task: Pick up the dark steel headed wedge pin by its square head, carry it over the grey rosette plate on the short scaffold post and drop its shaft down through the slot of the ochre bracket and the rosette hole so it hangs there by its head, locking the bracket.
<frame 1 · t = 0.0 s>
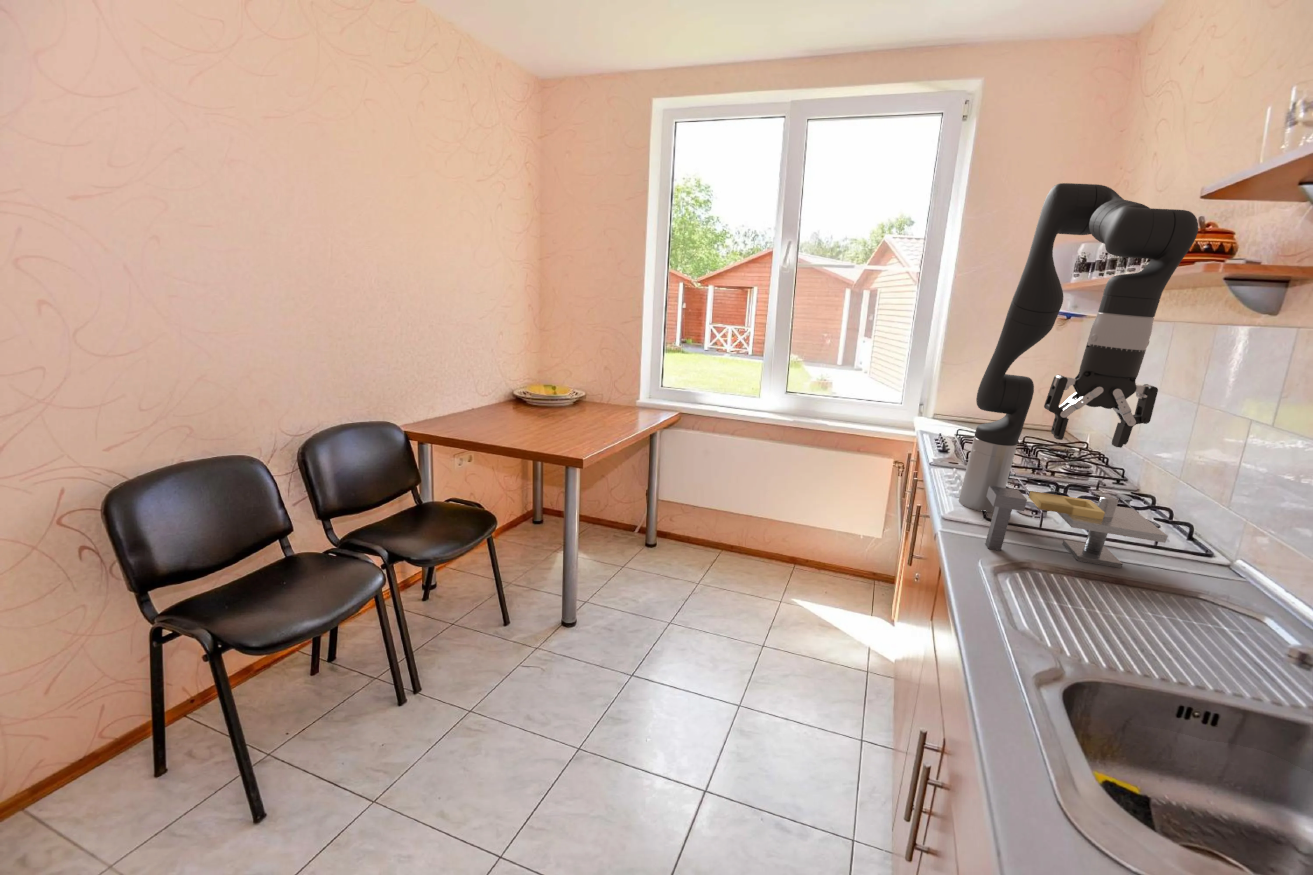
hand: (1086, 442, 96), 29 cm above the worktop, tool pointing down, fingers open, 8 cm apart
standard: (1090, 555, 123), on the worktop
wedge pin: (992, 547, 123), on the worktop
bracket: (1065, 504, 122), point 10 cm above the worktop
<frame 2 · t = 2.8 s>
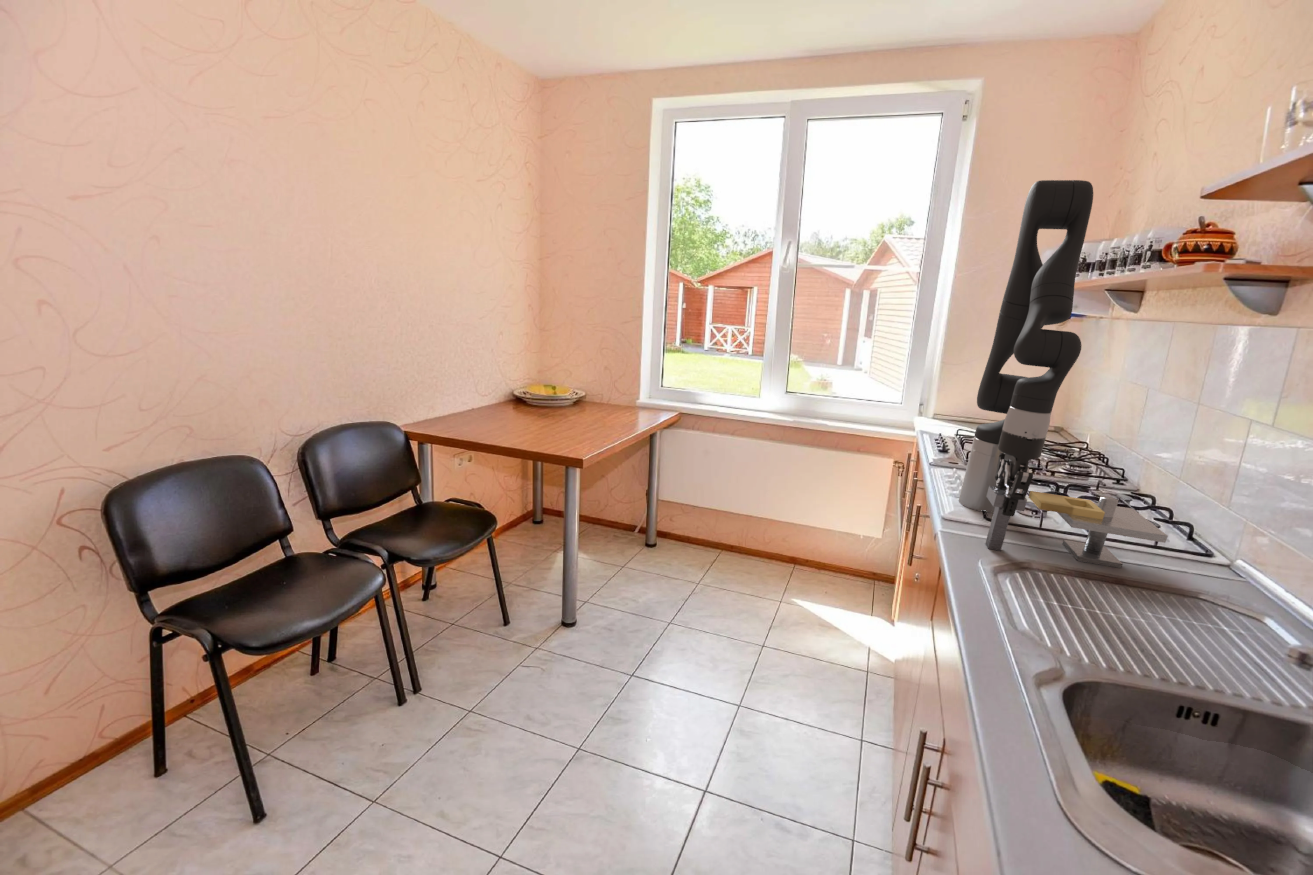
hand: (1003, 509, 121), 9 cm above the worktop, tool pointing down, fingers closed on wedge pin, 5 cm apart
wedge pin: (992, 547, 123), on the worktop, touching gripper
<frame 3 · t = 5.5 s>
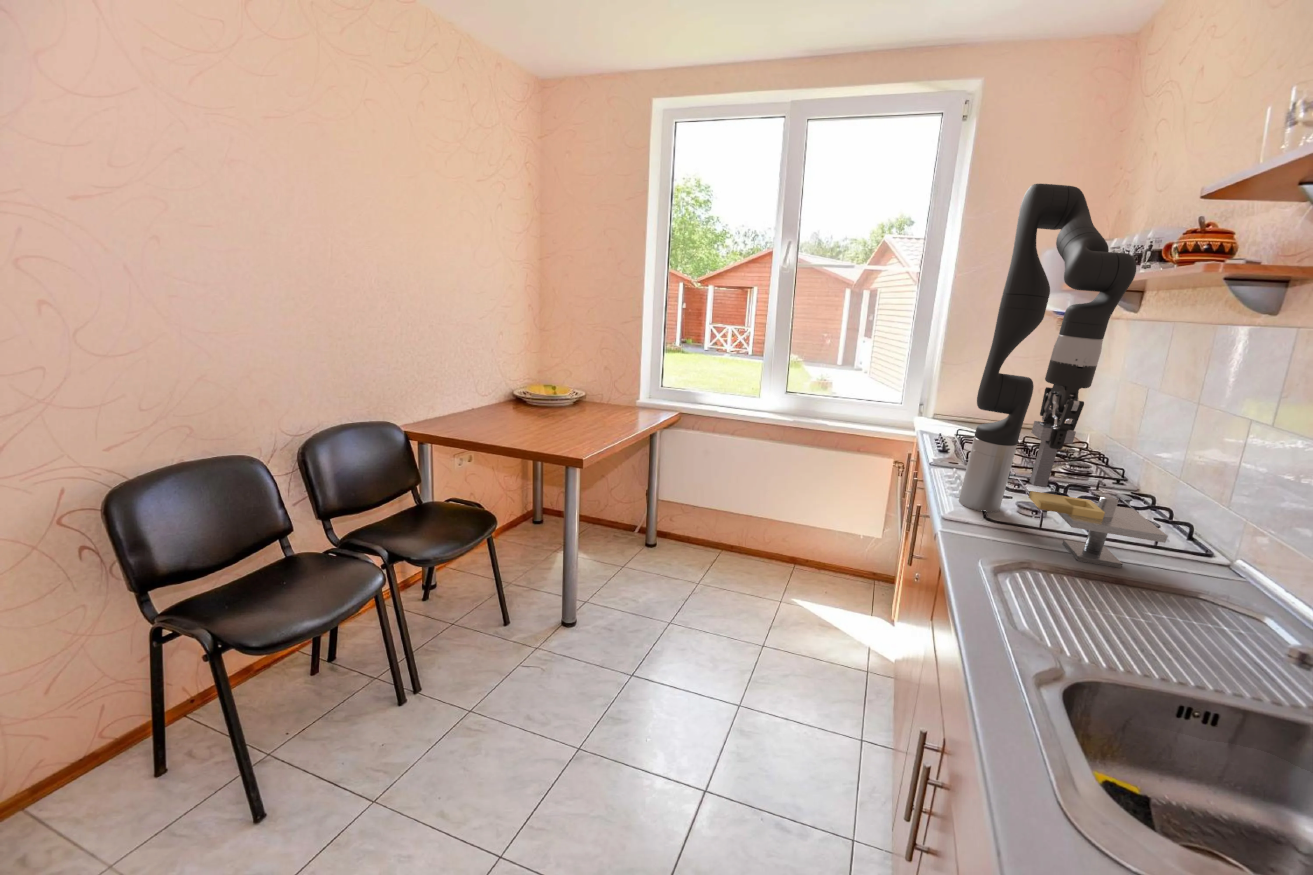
hand: (1049, 443, 117), 23 cm above the worktop, tool pointing down, fingers closed on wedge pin, 5 cm apart
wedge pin: (1037, 484, 120), point 15 cm above the worktop, touching gripper
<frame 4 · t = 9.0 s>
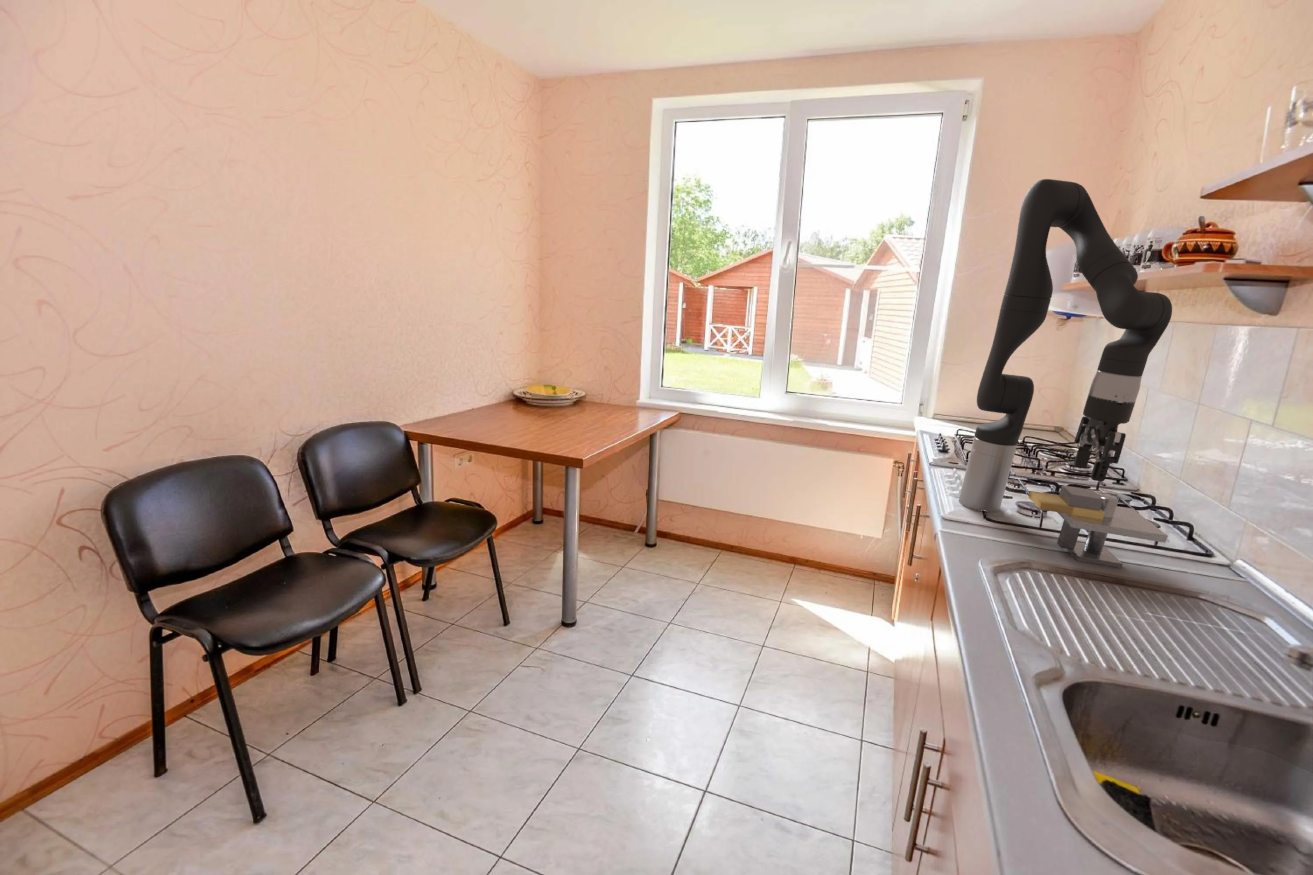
hand: (1088, 473, 119), 18 cm above the worktop, tool pointing down, fingers open, 8 cm apart
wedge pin: (1065, 546, 124), point 1 cm above the worktop, touching bracket, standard
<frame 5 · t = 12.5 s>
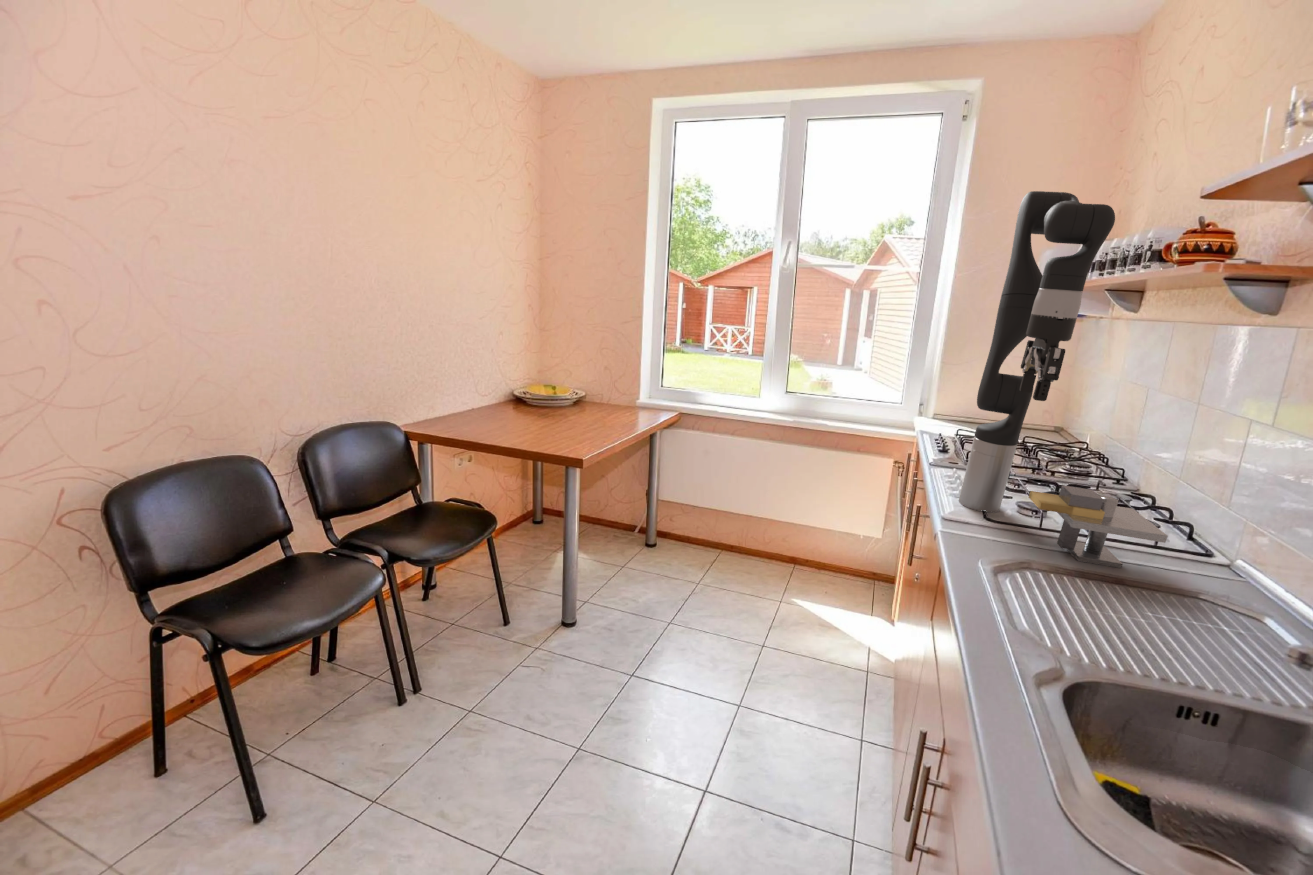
hand: (1031, 396, 117), 32 cm above the worktop, tool pointing down, fingers open, 8 cm apart
nothing on the worktop moved.
at the end: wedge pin 0.0 cm from the target spot on the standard, point 1.0 cm above the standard's base; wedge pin tilted 0°; the gripper is holding nothing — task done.
